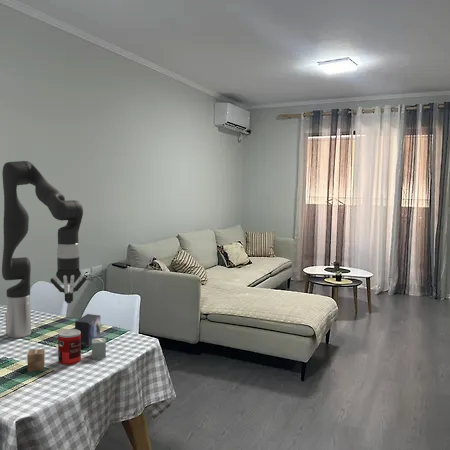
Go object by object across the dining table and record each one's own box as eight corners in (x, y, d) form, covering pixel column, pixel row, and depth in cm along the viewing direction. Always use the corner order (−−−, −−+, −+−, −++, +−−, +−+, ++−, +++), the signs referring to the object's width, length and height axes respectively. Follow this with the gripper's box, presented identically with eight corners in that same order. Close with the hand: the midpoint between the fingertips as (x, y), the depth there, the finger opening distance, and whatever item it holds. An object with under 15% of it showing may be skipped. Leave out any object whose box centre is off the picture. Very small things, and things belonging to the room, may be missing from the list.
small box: (88, 347, 179) (88, 322, 178) (74, 346, 180) (73, 321, 179) (101, 338, 189) (101, 314, 188) (87, 337, 191) (87, 313, 190)
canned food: (61, 357, 169) (61, 328, 168) (83, 357, 170) (82, 328, 169) (55, 365, 161) (55, 335, 160) (78, 365, 162) (78, 335, 161)
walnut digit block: (27, 371, 156) (27, 354, 155) (29, 366, 161) (29, 349, 160) (43, 370, 157) (42, 353, 157) (44, 364, 162) (44, 348, 161)
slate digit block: (92, 358, 168) (91, 343, 168) (92, 353, 173) (92, 338, 172) (105, 357, 170) (105, 341, 169) (105, 352, 174) (105, 337, 174)
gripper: (48, 258, 156) (49, 307, 157) (88, 256, 161) (88, 304, 162) (48, 254, 163) (49, 301, 164) (86, 253, 168) (87, 298, 169)
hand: (68, 302), depth 163 cm, fingers closed
